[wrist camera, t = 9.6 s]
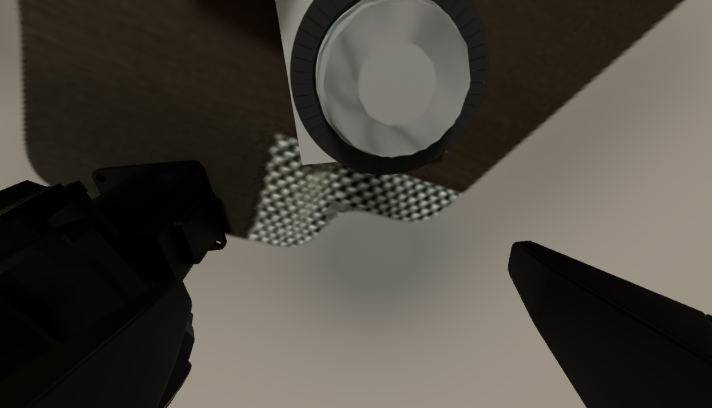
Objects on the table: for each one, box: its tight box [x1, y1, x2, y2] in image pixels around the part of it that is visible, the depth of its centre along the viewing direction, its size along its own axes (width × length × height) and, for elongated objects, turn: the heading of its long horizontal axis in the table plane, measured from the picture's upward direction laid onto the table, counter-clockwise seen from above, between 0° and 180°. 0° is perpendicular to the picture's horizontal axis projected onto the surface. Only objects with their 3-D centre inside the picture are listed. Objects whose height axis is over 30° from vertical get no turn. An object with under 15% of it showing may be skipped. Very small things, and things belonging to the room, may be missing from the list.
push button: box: [290, 0, 489, 175], centre depth 12 cm, size 7×5×10 cm
